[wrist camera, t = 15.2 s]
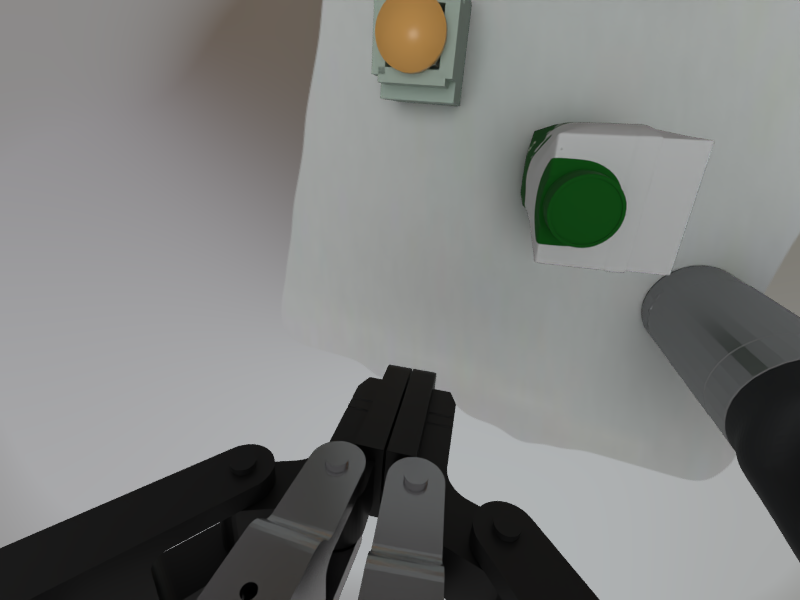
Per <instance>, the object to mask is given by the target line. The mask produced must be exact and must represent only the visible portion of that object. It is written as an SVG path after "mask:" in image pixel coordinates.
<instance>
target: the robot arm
mask: <svg viewBox="0 0 800 600" xmlns="http://www.w3.org/2000/svg"><path fill="white" fill-rule="evenodd" d="M642 320H643V323H644V326H645V328H646V330H647V331H648V333H649V334H650V335H651V337H652V338H653V340H654V341H655V342H656V344H657V345H658V346H659V348H660V349H661V351H662V352H663V354H664V355H665V356H666V358H667V359H668V360H669V362H670V363H671V364H672V366H673V367H674V369H675V370H676V371H677V373H678V374H679V375H680V377H681V378H682V379H683V381H684V382H685V384H686V385H687V386H688V388H689V389H690V390H691V392H692V393H693V394H694V396H695V397H696V399H697V400H698V401H699V403H700V404H701V405H702V407H703V408H704V409H705V411H706V412H707V414H708V415H709V416H710V417H711V419H712V420H713V421H714V423H715V424H716V426H717V427H718V428H719V430H720V431H721V432H722V434H723V435H724V436H725V438H726V439H727V441H728V442H729V443H730V444H731V446H732V447H733V449H734V450H735V452H736V455H737V459H738V462H739V465H740V467H741V469H742V471H743V472H744V474H745V476H746V478H747V479H748V481H749V482H750V484H751V485H752V487H753V488H754V490H755V491H756V492H757V494H758V496H759V497H760V499H761V500H762V502H763V504H764V505H765V507H766V508H767V510H768V512H769V513H770V515H771V516H772V518H773V519H774V521H775V523H776V524H777V526H778V528H779V529H780V531H781V532H782V534H783V536H784V537H785V539H786V541H787V542H788V544H789V546H790V547H791V549H792V550H793V552H794V554H795V555H796V557H797V558H798V560H799V562H800V317H798V316H797V315H795V314H794V313H792V312H791V311H789V310H788V309H786V308H785V307H783V306H781V305H780V304H778V303H777V302H775V301H774V300H772V299H770V298H769V297H767V296H766V295H764V294H763V293H761V292H760V291H758V290H756V289H755V288H753V287H750V286H748V285H747V284H745V283H744V282H742V281H740V280H739V279H737V278H736V277H734V276H733V275H731V274H729V273H728V272H726V271H724V270H721V269H719V268H716V267H709V266H692V267H688V268H683V269H680V270H677V271H675V272H672V273H671V274H670V275H667V276H665V277H664V278H662V279H661V280H660V281H659V282H657V283H656V284H655V285H654V286H653V287H652V289H651V290H650V291H649V292H648V294H647V296H646V298H645V300H644V302H643V307H642ZM435 381H436V373H434V372H428V371H423V370H417V369H413V371H412V369H411V368H406V367H400V366H395V365H389V366H388V368H387V370H386V372H385V374H384V377H383V379H376V378H372V377H370V378H368V379H367V380H366V381H364V382H363V383H361V384H360V385H359V386H358V388H357V389H356V392H355V393H354V395H353V398H352V400H351V401H350V403H349V405H348V408H347V409H346V411H345V413H344V415H343V417H342V419H341V421H340V423H339V425H338V427H337V428H336V430H335V433H334V434H333V436H332V438H331V440H330V442H328V443H325V444H323V445H321V446H320V447H318V448H317V449H315V450H314V451H313V453H312V454H311V455H310V457H309V458H307V459H304V460H297V461H280V462H275V461H274V456H273V454H272V453H271V451H270V450H268V449H267V448H265V447H263V446H260V445H255V444H248V445H242V446H238V447H235V448H233V449H230V450H228V451H226V452H223V453H221V454H218V455H216V456H214V457H212V458H209V459H207V460H204V461H202V462H200V463H197V464H195V465H193V466H191V467H188V468H186V469H183V470H181V471H179V472H176V473H174V474H172V475H170V476H167V477H165V478H163V479H160V480H158V481H156V482H153V483H151V484H149V485H146V486H144V487H142V488H139V489H137V490H135V491H132V492H130V493H128V494H125V495H123V496H121V497H118V498H116V499H114V500H111V501H109V502H107V503H105V504H102V505H100V506H98V507H95V508H93V509H91V510H88V511H86V512H83V513H81V514H79V515H77V516H74V517H72V518H70V519H67V520H65V521H63V522H60V523H58V524H56V525H53V526H51V527H49V528H46V529H44V530H42V531H39V532H37V533H35V534H32V535H30V536H28V537H25V538H23V539H21V540H18V541H16V542H14V543H11V544H9V545H7V546H5V547H2V548H0V600H339V597H340V595H341V592H342V590H343V587H344V585H345V582H346V580H347V577H348V575H349V572H350V570H351V567H352V565H353V562H354V560H355V557H356V554H357V552H358V550H359V547H360V544H361V540H362V534H363V531H364V529H365V525H366V522H367V519H368V516H369V515H370V516H374V517H378V520H377V525H376V530H375V535H374V539H373V545H372V549H371V551H369V553H368V556H367V560H366V564H365V569H364V574H363V578H362V583H361V588H360V592H359V597H358V600H444V598H445V599H446V600H599V599H598V597H597V596H596V595H595V594H594V593H593V591H592V590H591V589H590V588H589V587H588V586H587V584H586V583H585V582H584V581H583V580H582V578H581V577H580V576H579V575H578V574H577V573H576V571H575V570H574V569H573V568H572V566H571V565H570V564H569V563H568V562H567V560H566V559H565V558H564V557H563V556H562V555H561V553H560V552H559V551H558V550H557V549H556V547H555V546H554V545H553V544H552V543H551V541H550V540H549V539H548V538H547V537H546V535H545V534H544V533H543V532H542V531H541V529H540V528H539V527H538V526H537V525H536V523H535V522H534V521H533V520H532V519H531V518H530V516H528V514H527V513H525V512H524V511H523V510H522V509H520V508H519V507H517V506H515V505H512V504H510V503H507V502H502V501H492V502H488V503H485V504H483V505H482V506H481V507H480V506H478V505H476V504H474V503H472V502H470V501H469V500H467V499H465V498H464V497H462V496H461V495H460V494H459V493H458V492H457V491H456V490H455V489H454V488H453V486H452V485H451V483H450V481H449V479H448V476H447V464H448V457H449V449H450V442H451V435H452V427H453V421H454V413H455V406H456V404H455V402H454V399H453V397H452V395H451V393H450V392H446V391H441V390H436V389H434V388H435ZM219 522H220V523H219ZM217 523H218V524H217ZM215 524H216V525H215ZM213 525H215V526H213ZM211 526H213V527H211ZM209 527H211V528H209ZM208 528H209V529H208ZM205 529H207V530H205ZM204 530H205V531H204ZM202 531H203V532H202ZM200 532H201V533H200ZM198 533H199V534H198ZM196 534H198V535H196ZM194 535H196V536H194ZM192 536H194V537H192ZM190 537H192V538H190ZM189 538H190V539H189ZM187 539H188V540H187ZM185 540H186V541H185ZM183 541H184V542H183ZM181 542H182V543H181ZM179 543H181V544H179ZM177 544H179V545H177ZM175 545H177V546H175ZM173 546H175V547H173ZM172 547H173V548H172ZM170 548H171V549H170ZM168 549H169V550H168ZM166 550H168V551H166Z"/></svg>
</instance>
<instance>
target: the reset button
mask: <svg viewBox="0 0 800 600" xmlns="http://www.w3.org/2000/svg"><path fill="white" fill-rule="evenodd" d="M375 38H376V43H377V47H378V50H379V52H380V54H381V56H382V57H383V59H384V60H385V61H386V62H387V63H388V64H389V65H390V66H391V67H393V68H394V69H396V70H398V71H400V72H403V73H408V74H415V73H420V72H423V71H425V70H427V69H428V68H436V69H439V66H440V56H441V54H442V52H443V50H444V47H445V44H446V40H447V22H446V18H445V15H444V12H443V10H442V8H441V6H440V4H439V3H438V1H437V0H386V1H385V2H384V4H383V5H382V7H381V9H380V11H379V13H378V16H377V20H376V25H375Z"/></svg>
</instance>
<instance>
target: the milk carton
mask: <svg viewBox="0 0 800 600" xmlns="http://www.w3.org/2000/svg"><path fill="white" fill-rule="evenodd" d="M713 145H714V141H713V140H707V139H702V138H696V137H690V136H685V135H680V134H675V133H670V132H666V131H661V130H656V129H654V128H652V127H650V126H648V125H642V124H617V123H584V122H579V123H563V124H557V125H553V126H550V127H547V128H544V129H540V130H537V131H535V132H534V135H533V138H532V141H531V144H530V147H529V150H528V153H527V157H526V162H525V167H524V173H523V179H522V187H521V198H522V204H523V206H524V207H525V208H526V211H527V214H528V216H529V221H530V228H531V236H532V244H533V252H534V261H536V262H537V263H544V264H552V265H561V266H570V267H579V268H588V269H597V270H604V271H609V272H619V273H624V272H625V271H629V272H639V273H649V274H658V275H670V274H671V271H672V268H673V265H674V262H675V259H676V256H677V253H678V250H679V247H680V244H681V241H682V238H683V235H684V232H685V229H686V226H687V223H688V220H689V217H690V214H691V211H692V208H693V205H694V202H695V199H696V196H697V193H698V190H699V187H700V184H701V181H702V178H703V175H704V172H705V169H706V166H707V163H708V160H709V157H710V154H711V151H712V148H713Z"/></svg>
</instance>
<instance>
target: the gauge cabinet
mask: <svg viewBox="0 0 800 600" xmlns="http://www.w3.org/2000/svg"><path fill="white" fill-rule="evenodd" d="M385 1H386V0H374V19H373V46H372V73H371V74H374V75H376V76H378V82H380V83H381V96H380V98H382V99H387V100H393V101H398V102H410V103H424V104H437V105H451V106H460V98H461V89H462V81H463V73H464V64H465V56H466V48H467V39H468V31H469V22H470V14H471V6H472V4H471V0H437V1H438V3H439V4H440V6H441V8H442V10H443V12H444V15H445V18H446V22H447V40H446V44H445V47H444V50H443V52H442V54H441V56H440V66H439V69H436V68H428V69H427V70H425V71H423V72H420V73H415V74H408V73H403V72H400V71H398V70H396V69H394V68H393V67H391V66H390V65H389V64H388V63H387V62H386V61H385V60H384V59H383V57H382V56H381V54H380V52H379V50H378V47H377V43H376V38H375V25H376V20H377V16H378V13H379V11H380V9H381V7H382V5H383V4H384V2H385Z"/></svg>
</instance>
